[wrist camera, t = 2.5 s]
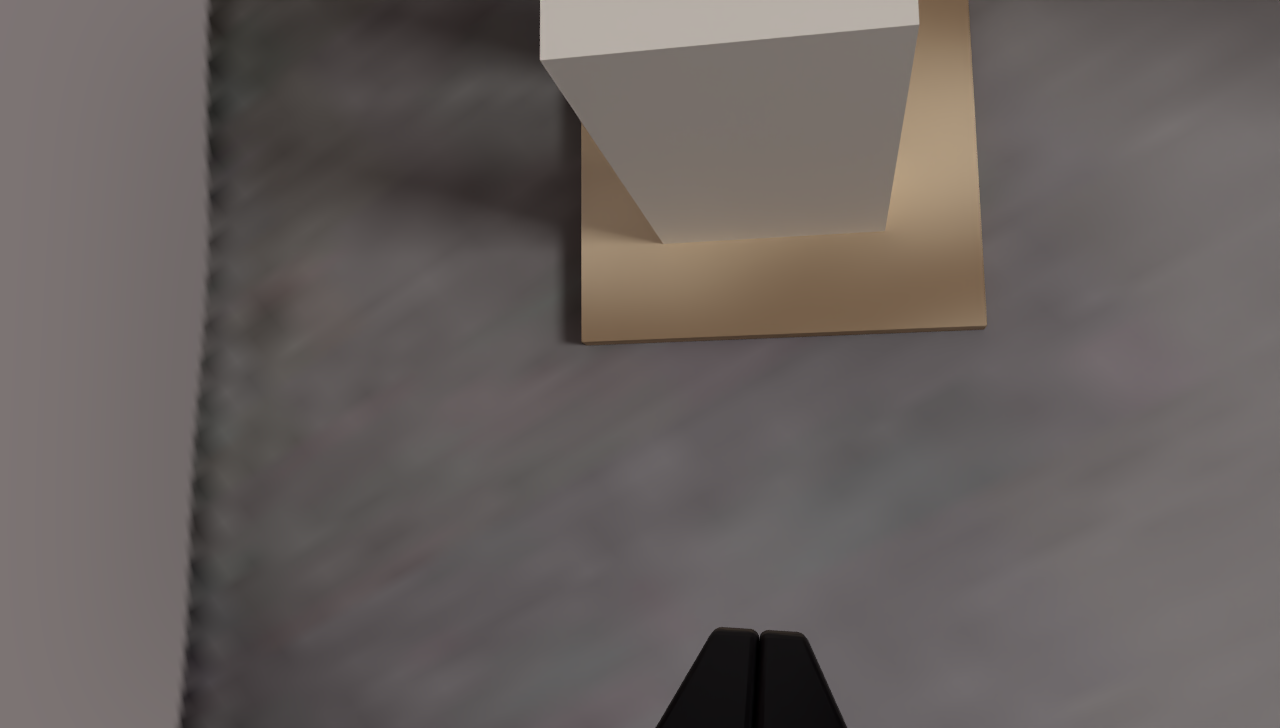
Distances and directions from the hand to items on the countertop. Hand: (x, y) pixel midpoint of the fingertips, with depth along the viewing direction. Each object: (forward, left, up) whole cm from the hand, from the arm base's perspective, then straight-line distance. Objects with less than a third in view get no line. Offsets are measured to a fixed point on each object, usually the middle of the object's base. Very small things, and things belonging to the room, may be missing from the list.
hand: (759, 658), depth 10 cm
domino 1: (+2, +8, -13) cm, 15 cm away
